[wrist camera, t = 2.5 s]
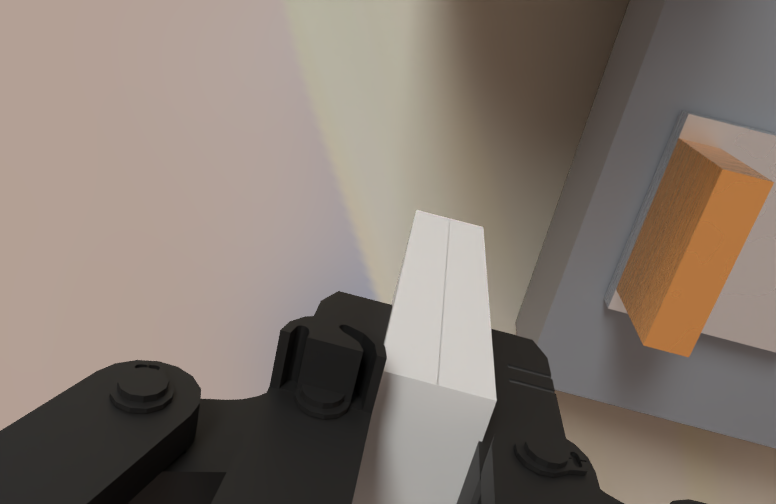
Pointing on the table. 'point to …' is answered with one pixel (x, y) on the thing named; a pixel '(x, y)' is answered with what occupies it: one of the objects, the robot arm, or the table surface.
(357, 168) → the table surface
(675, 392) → the socket
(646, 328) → the shutter
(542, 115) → the table surface
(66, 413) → the robot arm
